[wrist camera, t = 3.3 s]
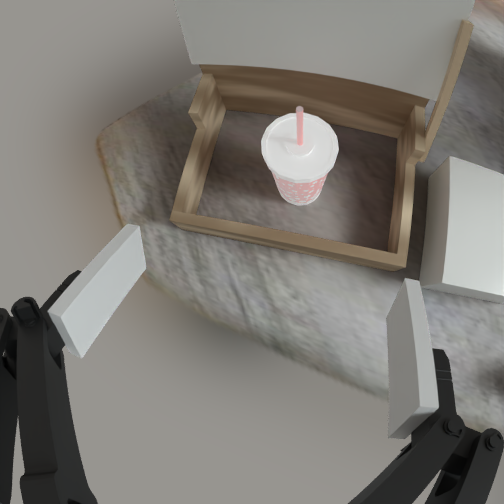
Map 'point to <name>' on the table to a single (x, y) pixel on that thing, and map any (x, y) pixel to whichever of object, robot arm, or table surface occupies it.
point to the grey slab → (464, 231)
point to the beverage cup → (299, 155)
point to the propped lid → (339, 41)
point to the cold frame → (329, 110)
